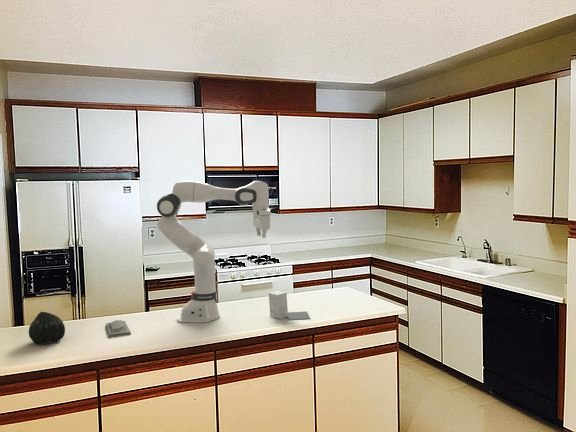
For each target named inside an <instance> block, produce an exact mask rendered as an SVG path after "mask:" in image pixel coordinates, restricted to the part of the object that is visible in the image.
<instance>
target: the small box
mask: <svg viewBox="0 0 576 432" xmlns="http://www.w3.org/2000/svg"><path fill="white" fill-rule="evenodd" d="M287 294H288V293H287V292H285V291H280V290H274V291H271V292H268V303H269V316H270V317H272V318H276V319H280V320H281V319H283V318H287V316H288V312H289V310H288V296H287Z"/></svg>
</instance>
